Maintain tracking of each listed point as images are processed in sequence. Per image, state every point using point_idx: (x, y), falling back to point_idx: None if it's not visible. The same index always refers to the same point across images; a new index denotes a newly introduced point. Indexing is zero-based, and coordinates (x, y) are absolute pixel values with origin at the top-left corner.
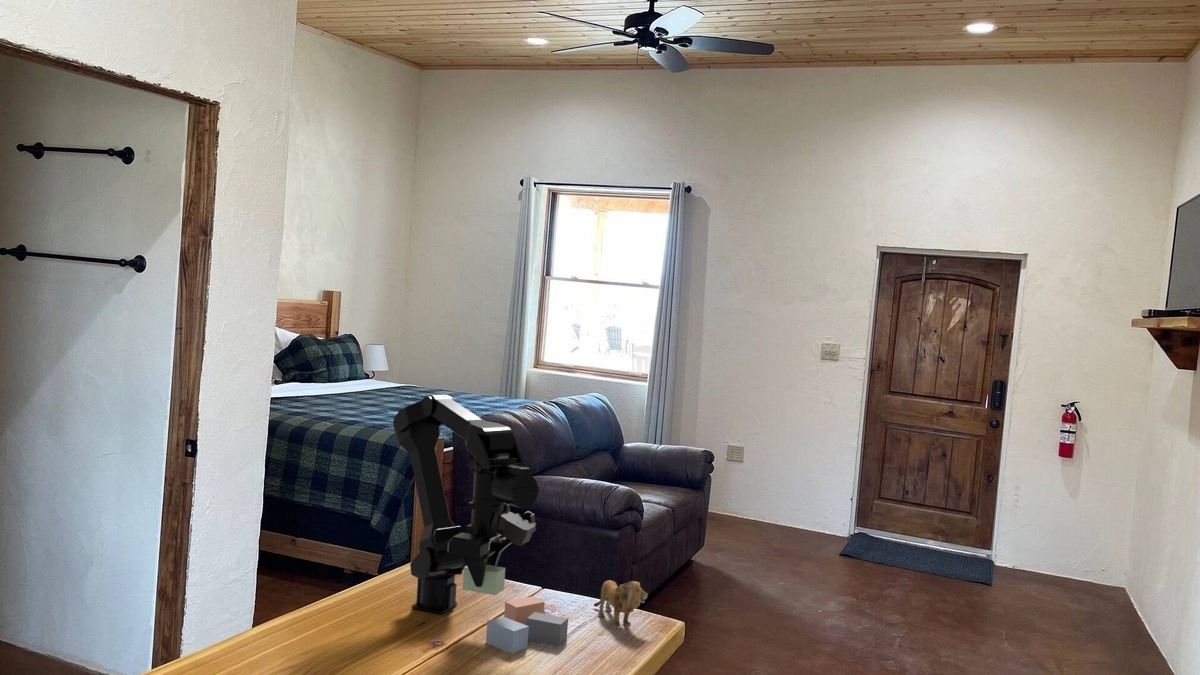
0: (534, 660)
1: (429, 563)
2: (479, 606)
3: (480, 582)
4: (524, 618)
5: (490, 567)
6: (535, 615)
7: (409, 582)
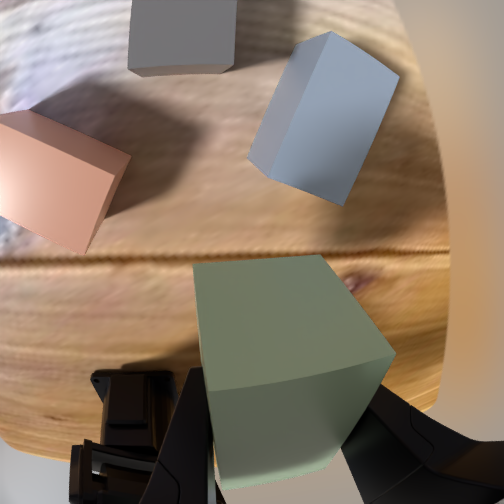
0: (370, 11)
1: (224, 501)
2: (54, 332)
3: None
4: (88, 145)
5: (272, 438)
6: (175, 43)
7: None
